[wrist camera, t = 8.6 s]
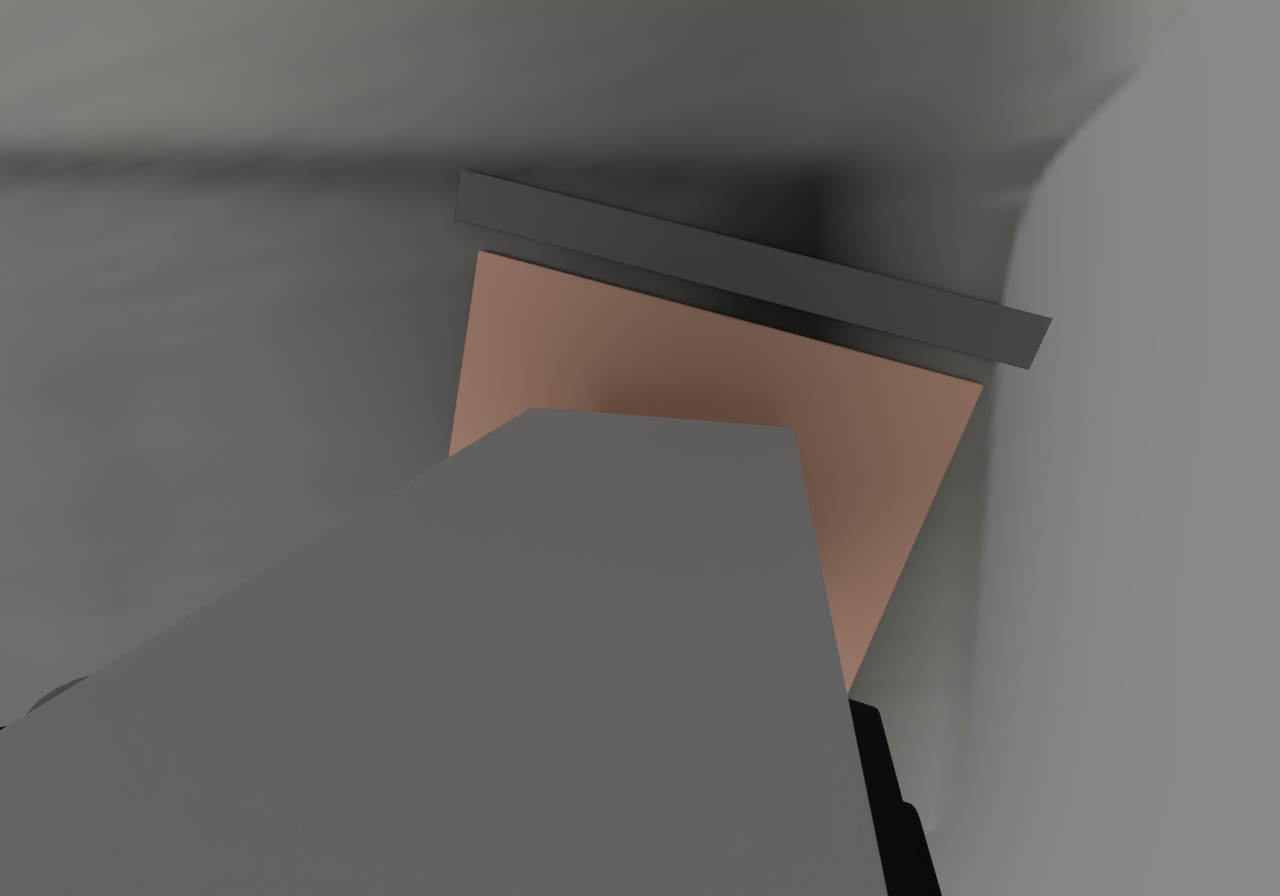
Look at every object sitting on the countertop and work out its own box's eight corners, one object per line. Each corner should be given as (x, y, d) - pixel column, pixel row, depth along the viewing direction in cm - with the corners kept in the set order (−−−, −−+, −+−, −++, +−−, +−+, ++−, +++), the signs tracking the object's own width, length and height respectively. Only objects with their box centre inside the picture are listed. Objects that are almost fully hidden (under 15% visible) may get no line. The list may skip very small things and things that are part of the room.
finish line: (465, 170, 19) (461, 169, 19) (1047, 317, 17) (1052, 318, 17) (459, 219, 20) (454, 218, 19) (1024, 368, 18) (1028, 369, 17)
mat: (483, 250, 20) (478, 250, 19) (979, 382, 18) (983, 385, 18) (437, 563, 24) (432, 568, 23) (841, 697, 22) (842, 704, 22)
